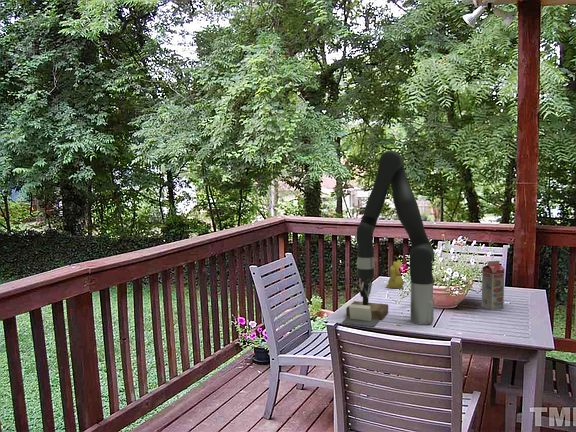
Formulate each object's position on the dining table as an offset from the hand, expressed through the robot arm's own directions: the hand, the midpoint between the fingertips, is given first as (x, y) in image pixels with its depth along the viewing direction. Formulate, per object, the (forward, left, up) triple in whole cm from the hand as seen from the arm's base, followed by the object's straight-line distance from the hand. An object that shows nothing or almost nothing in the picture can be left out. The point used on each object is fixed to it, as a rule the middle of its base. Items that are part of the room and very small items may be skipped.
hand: (365, 305), depth 220 cm
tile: (+1, +6, -2) cm, 7 cm away
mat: (0, +8, -5) cm, 10 cm away
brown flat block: (0, -3, -5) cm, 6 cm away
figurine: (-1, -57, -6) cm, 57 cm away
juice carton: (-51, -35, -6) cm, 62 cm away
